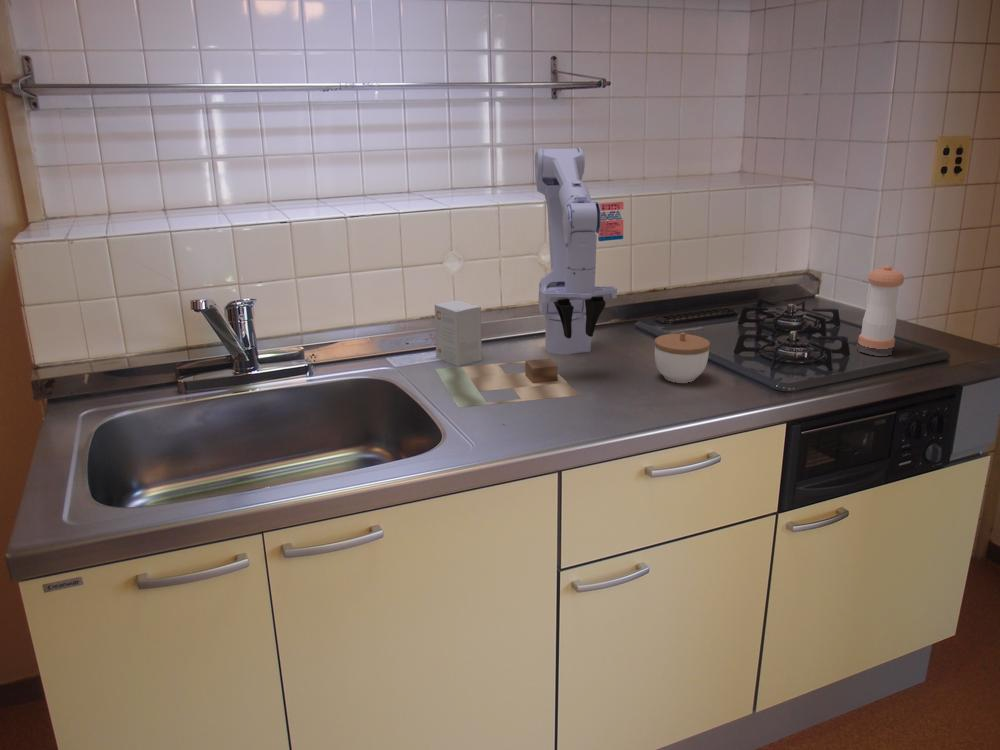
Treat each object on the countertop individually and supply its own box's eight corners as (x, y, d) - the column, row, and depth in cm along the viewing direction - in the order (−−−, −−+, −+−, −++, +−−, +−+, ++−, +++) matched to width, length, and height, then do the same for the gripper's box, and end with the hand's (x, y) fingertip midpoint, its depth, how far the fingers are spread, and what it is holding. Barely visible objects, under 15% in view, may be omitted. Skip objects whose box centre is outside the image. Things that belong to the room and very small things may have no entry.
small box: (482, 366, 171) (481, 306, 167) (458, 373, 167) (456, 311, 163) (459, 357, 177) (458, 299, 172) (435, 363, 173) (433, 304, 169)
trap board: (543, 366, 171) (543, 359, 170) (579, 402, 151) (580, 395, 150) (435, 376, 165) (434, 369, 165) (458, 415, 145) (458, 407, 145)
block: (549, 372, 162) (549, 358, 161) (557, 380, 158) (557, 366, 157) (525, 375, 161) (525, 360, 160) (532, 383, 157) (532, 368, 156)
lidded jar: (717, 377, 164) (721, 332, 161) (689, 391, 156) (692, 344, 153) (670, 366, 171) (673, 322, 168) (642, 378, 163) (644, 333, 160)
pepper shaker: (898, 357, 176) (913, 269, 169) (864, 357, 176) (878, 269, 169) (884, 347, 183) (897, 262, 176) (851, 347, 183) (863, 262, 176)
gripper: (550, 273, 149) (549, 344, 153) (624, 269, 152) (621, 338, 157) (538, 266, 155) (538, 334, 160) (610, 261, 159) (607, 329, 163)
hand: (578, 336), depth 159 cm, fingers open, 4 cm apart
